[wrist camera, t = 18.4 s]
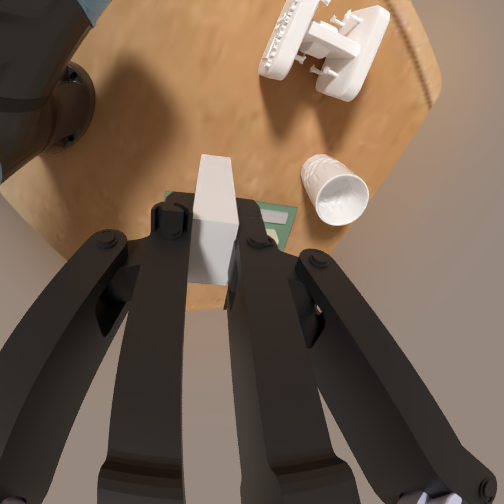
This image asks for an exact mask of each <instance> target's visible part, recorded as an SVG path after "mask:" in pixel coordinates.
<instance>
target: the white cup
mask: <svg viewBox="0 0 504 504" xmlns="http://www.w3.org/2000/svg"><path fill="white" fill-rule="evenodd" d="M300 175H301V179H302V183H303V185H304V187H305V190H306V192H307V194H308V196H309V198H310V200H311V202H312V204H313V206H314V208H315V210H316V212H317V214H318V216H319V217H320V219H321V220H322V221H324V222H325V223H327V224H329V225H333V226H341V225H346V224H349V223H351V222H353V221H354V220H356V219H357V218H358V217H359V216H360V215H361V214H362V213H363V212H364V210H365V208H366V206H367V203H368V199H369V192H368V188H367V186H366V184H365V182H364V181H363V180H362V179H361V178H360V177H358V176H357V175H356V174H355V173H353V172H352V171H351V170H350V169H348V168H347V167H346V166H344V165H343V164H342V163H340V162H339V161H337V160H335V159H334V158H333V157H331V156H328V155H326V154H316V155H314V156H312V157H310V158H309V159H308V160H307V161H306V162H305V163H304V165H303V166H302V170H301V174H300Z"/></svg>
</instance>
